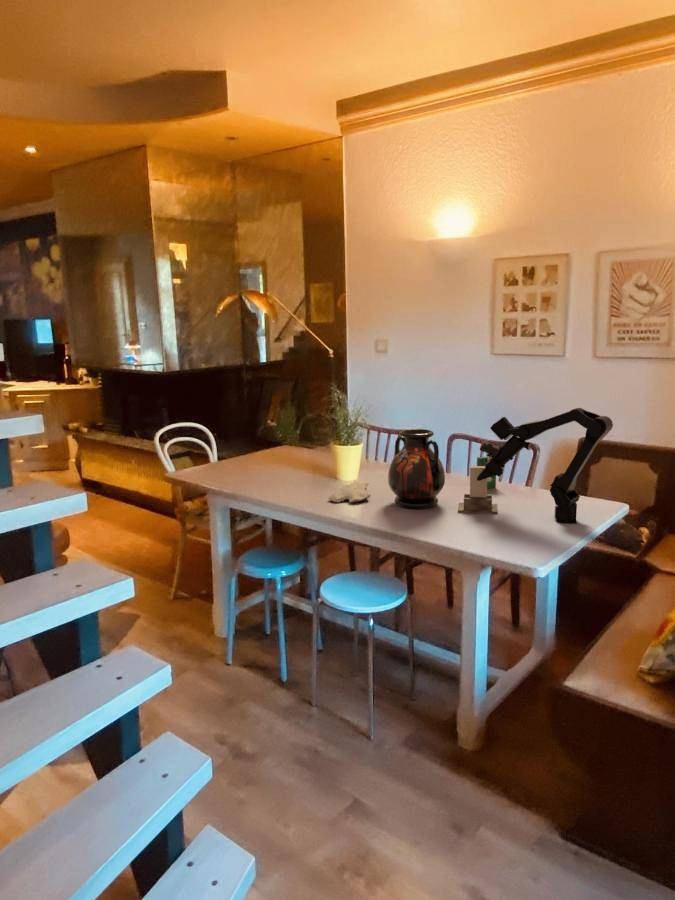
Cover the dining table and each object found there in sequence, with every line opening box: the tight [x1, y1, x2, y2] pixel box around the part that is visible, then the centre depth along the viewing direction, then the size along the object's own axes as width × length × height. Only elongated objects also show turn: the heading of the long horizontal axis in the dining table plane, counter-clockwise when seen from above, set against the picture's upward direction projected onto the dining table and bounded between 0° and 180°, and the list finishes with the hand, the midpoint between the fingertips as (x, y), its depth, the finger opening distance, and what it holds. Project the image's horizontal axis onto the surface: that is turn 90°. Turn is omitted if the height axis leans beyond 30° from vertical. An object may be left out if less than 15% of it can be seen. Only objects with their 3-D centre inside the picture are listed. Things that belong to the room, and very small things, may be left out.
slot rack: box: [457, 493, 498, 515], centre depth 245 cm, size 14×10×5 cm
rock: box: [328, 479, 371, 504], centre depth 263 cm, size 21×5×15 cm
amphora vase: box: [387, 428, 446, 510], centre depth 251 cm, size 22×22×28 cm
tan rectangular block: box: [469, 465, 488, 498], centre depth 243 cm, size 6×3×11 cm, turn 78°
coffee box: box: [476, 456, 497, 489], centre depth 273 cm, size 8×3×13 cm, turn 106°
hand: (477, 478), depth 243 cm, fingers closed on tan rectangular block, 3 cm apart
